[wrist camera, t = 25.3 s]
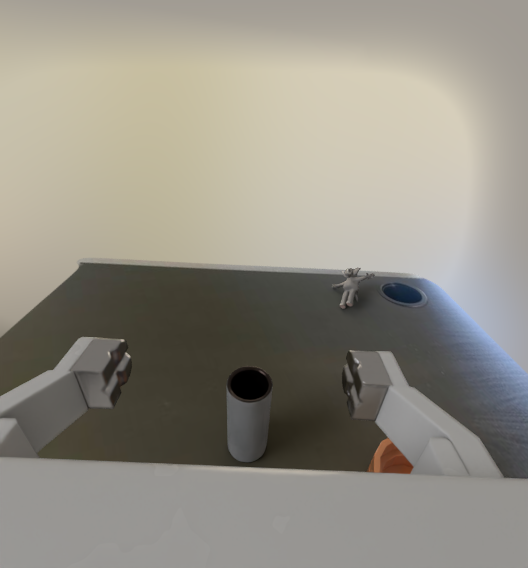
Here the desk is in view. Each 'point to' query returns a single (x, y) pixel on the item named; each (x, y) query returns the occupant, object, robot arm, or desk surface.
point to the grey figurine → (351, 286)
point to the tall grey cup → (248, 412)
